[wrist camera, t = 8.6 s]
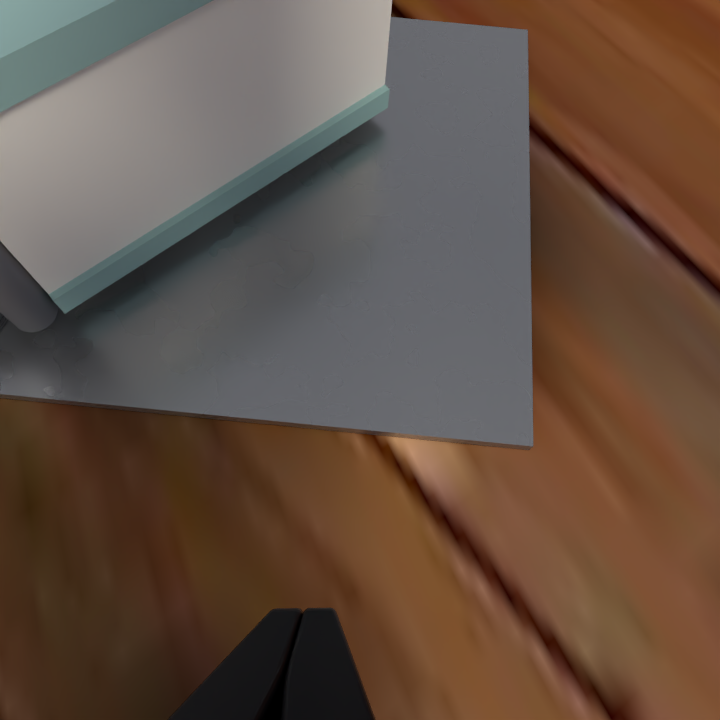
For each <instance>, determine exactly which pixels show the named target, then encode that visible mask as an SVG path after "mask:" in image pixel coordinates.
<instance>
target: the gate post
mask: <svg viewBox="0 0 720 720" xmlns="http://www.w3.org/2000/svg"><path fill="white" fill-rule="evenodd" d="M385 85H386V86H387V87H388V88H389V89H390V91H389V102H388V108H387V109H385V110H383V111H382V112H380V113H379V114H377V115H376V116H374V117H372V118H371V119H369V120H368V121H366V122H365V123H363V124H361V125H360V126H358V127H357V128H355V129H354V130H352V131H351V132H349V133H347V134H346V135H344V136H343V137H341V138H340V139H338V140H336V141H335V142H333V143H332V144H330V145H329V146H327V147H325V148H324V149H322V150H321V151H319V152H318V153H316V154H315V155H313V156H311V157H310V158H308V159H307V160H305V161H304V162H302V163H300V164H299V165H297V166H296V167H294V168H293V169H291V170H289V171H288V172H286V173H285V174H283V175H282V176H280V177H278V178H277V179H275V180H274V181H272V182H271V183H269V184H268V185H266V186H264V187H263V188H261V189H260V190H258V191H257V192H255V193H253V194H252V195H250V196H249V197H247V198H246V199H244V200H242V201H241V202H239V203H238V204H236V205H235V206H233V207H232V208H230V209H228V210H227V211H225V212H224V213H222V214H221V215H219V216H217V217H216V218H214V219H213V220H211V221H210V222H208V223H206V224H205V225H203V226H202V227H200V228H199V229H197V230H195V231H194V232H192V233H191V234H189V235H188V236H186V237H185V238H183V239H181V240H180V241H178V242H177V243H175V244H174V245H172V246H170V247H169V248H167V249H166V250H164V251H163V252H161V253H159V254H158V255H156V256H155V257H153V258H152V259H150V260H149V261H147V262H145V263H144V264H142V265H141V266H139V267H138V268H136V269H134V270H133V271H131V272H130V273H128V274H127V275H125V276H123V277H122V278H120V279H119V280H117V281H116V282H114V283H112V284H111V285H109V286H108V287H106V288H105V289H103V290H102V291H100V292H98V293H97V294H95V295H94V296H92V297H91V298H89V299H87V300H86V301H84V302H83V303H81V304H80V305H78V306H76V307H75V308H73V309H72V310H70V311H69V312H67V313H66V314H65V313H64V312H63V311H62V310H61V309H60V308H59V307H58V313H57V316H56V318H55V320H54V321H53V322H52V324H51V325H49V326H48V327H47V328H45V329H43V330H41V331H38V332H24V331H22V330H20V329H18V328H17V327H16V326H15V325H14V324H13V323H11V322H10V321H9V320H8V319H7V318H6V317H5V316H4V315H3V314H1V313H0V398H6V399H16V400H26V401H36V402H46V403H56V404H67V405H77V406H87V407H97V408H107V409H117V410H128V411H138V412H148V413H158V414H168V415H178V416H188V417H199V418H209V419H219V420H229V421H239V422H249V423H260V424H270V425H280V426H290V427H300V428H310V429H321V430H331V431H341V432H351V433H361V434H371V435H381V436H392V437H402V438H412V439H422V440H432V441H442V442H453V443H463V444H473V445H483V446H493V447H503V448H514V449H524V450H530V449H531V448H532V447H533V391H532V316H531V241H530V165H529V90H528V30H523V29H512V28H502V27H491V26H481V25H470V24H459V23H449V22H438V21H427V20H417V19H406V18H395V17H391V19H390V30H389V42H388V54H387V65H386V77H385Z"/></svg>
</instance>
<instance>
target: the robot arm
mask: <svg viewBox="0 0 720 720" xmlns="http://www.w3.org/2000/svg"><path fill="white" fill-rule="evenodd" d="M168 720H375V717H374V714H373V711H372V709H371V706H370V703H369V700H368V698H367V695H366V692H365V689H364V687H363V684H362V681H361V678H360V676H359V673H358V670H357V667H356V665H355V662H354V659H353V656H352V654H351V651H350V648H349V645H348V643H347V640H346V637H345V634H344V632H343V629H342V626H341V623H340V621H339V618H338V615H337V613H336V611H335V610H334V609H333V608H308V609H306V610H305V611H304V612H303V611H302V610H301V609H299V608H277V609H273V610H271V611H270V612H269V613H268V614H267V615H266V616H265V617H264V618H263V619H262V620H261V621H260V622H259V623H258V624H257V626H256V627H255V628H254V629H253V630H252V631H251V632H250V633H249V634H248V635H247V636H246V637H245V638H244V639H243V640H242V641H241V642H240V644H239V645H238V646H237V647H236V648H235V649H234V650H233V651H232V652H231V653H230V654H229V655H228V656H227V657H226V658H225V659H224V660H223V661H222V663H221V664H220V665H219V666H218V667H217V668H216V669H215V670H214V671H213V672H212V673H211V674H210V675H209V676H208V677H207V678H206V679H205V681H204V682H203V683H202V684H201V685H200V686H199V687H198V688H197V689H196V690H195V691H194V692H193V693H192V694H191V695H190V696H189V697H188V698H187V700H186V701H185V702H184V703H183V704H182V705H181V706H180V707H179V708H178V709H177V710H176V711H175V712H174V713H173V714H172V715H171V716H170V717H169V719H168Z"/></svg>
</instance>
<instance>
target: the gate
mask: <svg viewBox="0 0 720 720" xmlns="http://www.w3.org/2000/svg"><path fill="white" fill-rule="evenodd" d="M391 7H392V0H0V313H1V314H3V315H4V316H5V317H6V318H7V319H8V320H9V321H10V322H11V323H13V324H14V325H15V326H16V327H17V328H18V329H20V330H22V331H24V332H38V331H41V330H43V329H45V328H47V327H48V326H49V325H51V324H52V322H53V321H54V320H55V318H56V316H57V313H58V307H59V308H60V309H61V310H62V311H63V312H64V313H65V314H66V313H67V312H69V311H70V310H72V309H73V308H75V307H76V306H78V305H80V304H81V303H83V302H84V301H86V300H87V299H89V298H91V297H92V296H94V295H95V294H97V293H98V292H100V291H102V290H103V289H105V288H106V287H108V286H109V285H111V284H112V283H114V282H116V281H117V280H119V279H120V278H122V277H123V276H125V275H127V274H128V273H130V272H131V271H133V270H134V269H136V268H138V267H139V266H141V265H142V264H144V263H145V262H147V261H149V260H150V259H152V258H153V257H155V256H156V255H158V254H159V253H161V252H163V251H164V250H166V249H167V248H169V247H170V246H172V245H174V244H175V243H177V242H178V241H180V240H181V239H183V238H185V237H186V236H188V235H189V234H191V233H192V232H194V231H195V230H197V229H199V228H200V227H202V226H203V225H205V224H206V223H208V222H210V221H211V220H213V219H214V218H216V217H217V216H219V215H221V214H222V213H224V212H225V211H227V210H228V209H230V208H232V207H233V206H235V205H236V204H238V203H239V202H241V201H242V200H244V199H246V198H247V197H249V196H250V195H252V194H253V193H255V192H257V191H258V190H260V189H261V188H263V187H264V186H266V185H268V184H269V183H271V182H272V181H274V180H275V179H277V178H278V177H280V176H282V175H283V174H285V173H286V172H288V171H289V170H291V169H293V168H294V167H296V166H297V165H299V164H300V163H302V162H304V161H305V160H307V159H308V158H310V157H311V156H313V155H315V154H316V153H318V152H319V151H321V150H322V149H324V148H325V147H327V146H329V145H330V144H332V143H333V142H335V141H336V140H338V139H340V138H341V137H343V136H344V135H346V134H347V133H349V132H351V131H352V130H354V129H355V128H357V127H358V126H360V125H361V124H363V123H365V122H366V121H368V120H369V119H371V118H372V117H374V116H376V115H377V114H379V113H380V112H382V111H383V110H385V109H387V108H388V102H389V91H390V89H389V88H388V87H387V86H386V85H385V77H386V65H387V54H388V42H389V30H390V19H391Z"/></svg>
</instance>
